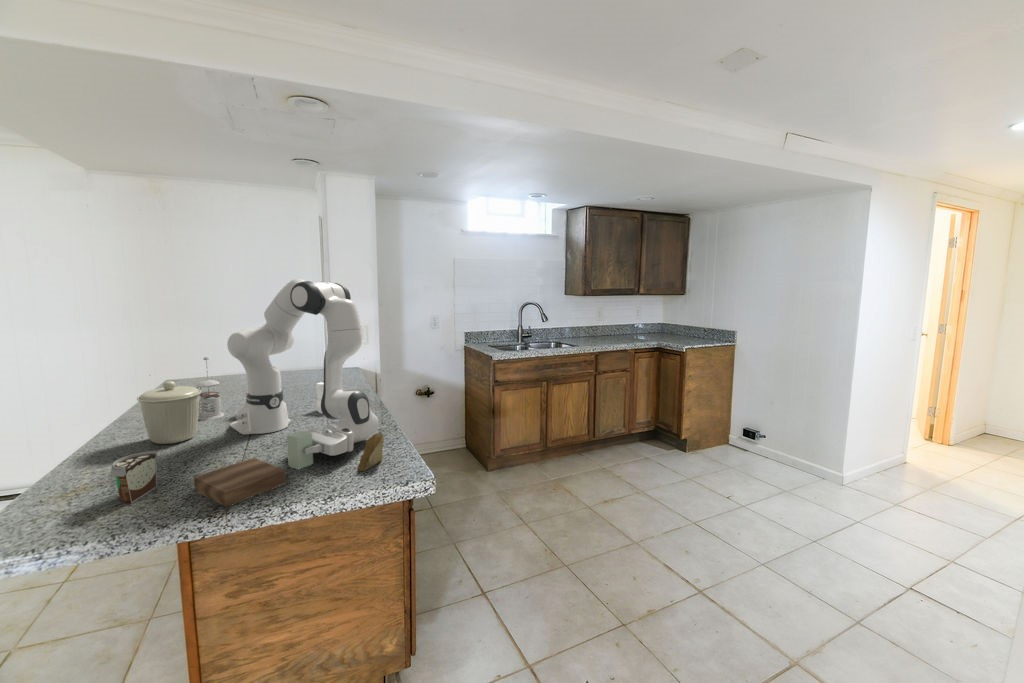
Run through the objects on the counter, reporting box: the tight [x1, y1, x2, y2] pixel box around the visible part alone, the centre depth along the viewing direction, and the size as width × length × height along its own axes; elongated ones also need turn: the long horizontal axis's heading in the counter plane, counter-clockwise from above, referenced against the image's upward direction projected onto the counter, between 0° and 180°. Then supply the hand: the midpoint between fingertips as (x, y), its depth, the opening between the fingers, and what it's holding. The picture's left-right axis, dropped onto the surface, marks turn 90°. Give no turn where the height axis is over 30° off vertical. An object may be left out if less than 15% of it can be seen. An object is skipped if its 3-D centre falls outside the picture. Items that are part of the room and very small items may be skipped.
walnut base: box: [193, 457, 287, 508], centre depth 124 cm, size 16×16×4 cm
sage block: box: [286, 430, 314, 470], centre depth 139 cm, size 5×5×10 cm
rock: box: [357, 432, 385, 472], centre depth 141 cm, size 11×9×10 cm
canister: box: [136, 380, 202, 445], centre depth 158 cm, size 18×18×21 cm
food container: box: [110, 450, 159, 505], centre depth 118 cm, size 12×6×10 cm, turn 5°
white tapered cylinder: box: [316, 382, 324, 414], centre depth 197 cm, size 9×9×12 cm
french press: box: [195, 356, 225, 421], centre depth 185 cm, size 10×12×25 cm
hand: (297, 449), depth 138 cm, fingers open, 5 cm apart
